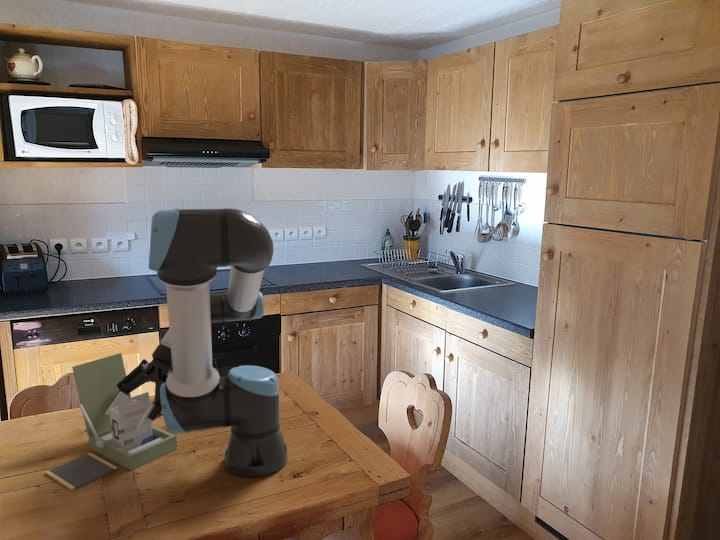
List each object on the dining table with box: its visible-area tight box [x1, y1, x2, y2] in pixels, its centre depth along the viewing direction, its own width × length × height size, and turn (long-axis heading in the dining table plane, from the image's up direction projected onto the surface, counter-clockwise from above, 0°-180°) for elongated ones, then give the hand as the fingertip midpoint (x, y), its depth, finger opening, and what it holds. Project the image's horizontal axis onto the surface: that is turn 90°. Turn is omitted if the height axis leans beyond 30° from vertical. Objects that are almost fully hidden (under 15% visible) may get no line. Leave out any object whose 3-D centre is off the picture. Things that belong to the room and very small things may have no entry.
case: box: [71, 352, 178, 471], centre depth 141 cm, size 23×14×21 cm, turn 55°
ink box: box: [110, 391, 153, 452], centre depth 140 cm, size 8×5×15 cm, turn 141°
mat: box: [44, 452, 119, 492], centre depth 131 cm, size 12×11×1 cm
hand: (124, 423), depth 139 cm, fingers open, 13 cm apart
